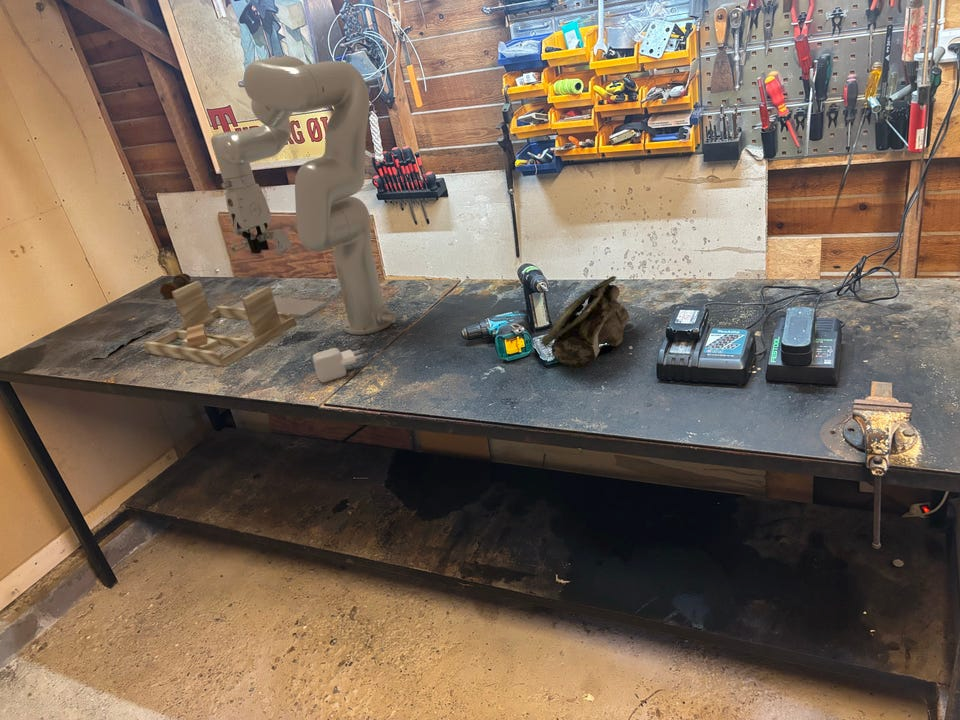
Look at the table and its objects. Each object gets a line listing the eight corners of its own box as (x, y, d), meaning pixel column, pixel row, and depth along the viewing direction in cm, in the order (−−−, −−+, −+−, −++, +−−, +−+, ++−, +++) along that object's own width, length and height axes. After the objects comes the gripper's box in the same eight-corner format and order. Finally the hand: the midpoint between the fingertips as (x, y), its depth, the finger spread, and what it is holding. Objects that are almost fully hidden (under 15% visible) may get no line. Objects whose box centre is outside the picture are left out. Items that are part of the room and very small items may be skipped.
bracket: (284, 249, 165) (262, 215, 163) (246, 279, 179) (226, 248, 177) (293, 245, 167) (272, 211, 165) (255, 275, 181) (235, 244, 179)
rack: (296, 324, 167) (284, 280, 161) (225, 366, 149) (208, 319, 143) (219, 315, 181) (205, 275, 176) (146, 352, 163) (128, 309, 158)
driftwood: (104, 362, 163) (100, 355, 162) (84, 361, 165) (81, 354, 164) (162, 328, 180) (160, 322, 179) (144, 328, 182) (141, 321, 181)
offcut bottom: (221, 351, 158) (217, 340, 157) (206, 358, 156) (202, 347, 154) (200, 344, 164) (196, 333, 163) (186, 350, 162) (181, 340, 160)
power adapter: (366, 361, 141) (360, 337, 138) (372, 369, 137) (366, 345, 134) (317, 376, 137) (310, 352, 135) (321, 385, 133) (314, 361, 131)
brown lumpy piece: (191, 287, 215) (175, 302, 202) (176, 282, 214) (158, 297, 201) (195, 272, 213) (178, 285, 200) (180, 266, 212) (162, 280, 199)
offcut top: (207, 343, 156) (203, 334, 155) (190, 348, 155) (186, 339, 154) (206, 332, 163) (203, 323, 161) (190, 337, 161) (186, 328, 160)
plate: (326, 305, 176) (325, 301, 176) (304, 318, 169) (303, 315, 169) (253, 298, 190) (252, 295, 190) (230, 310, 183) (229, 307, 183)
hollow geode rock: (568, 402, 123) (617, 360, 113) (520, 356, 124) (565, 310, 113) (617, 336, 144) (662, 295, 133) (576, 297, 144) (618, 253, 134)
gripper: (225, 190, 156) (248, 261, 164) (272, 174, 168) (291, 242, 177) (205, 190, 160) (228, 260, 168) (252, 175, 172) (271, 241, 180)
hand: (260, 250), depth 172 cm, fingers closed on bracket, 2 cm apart
